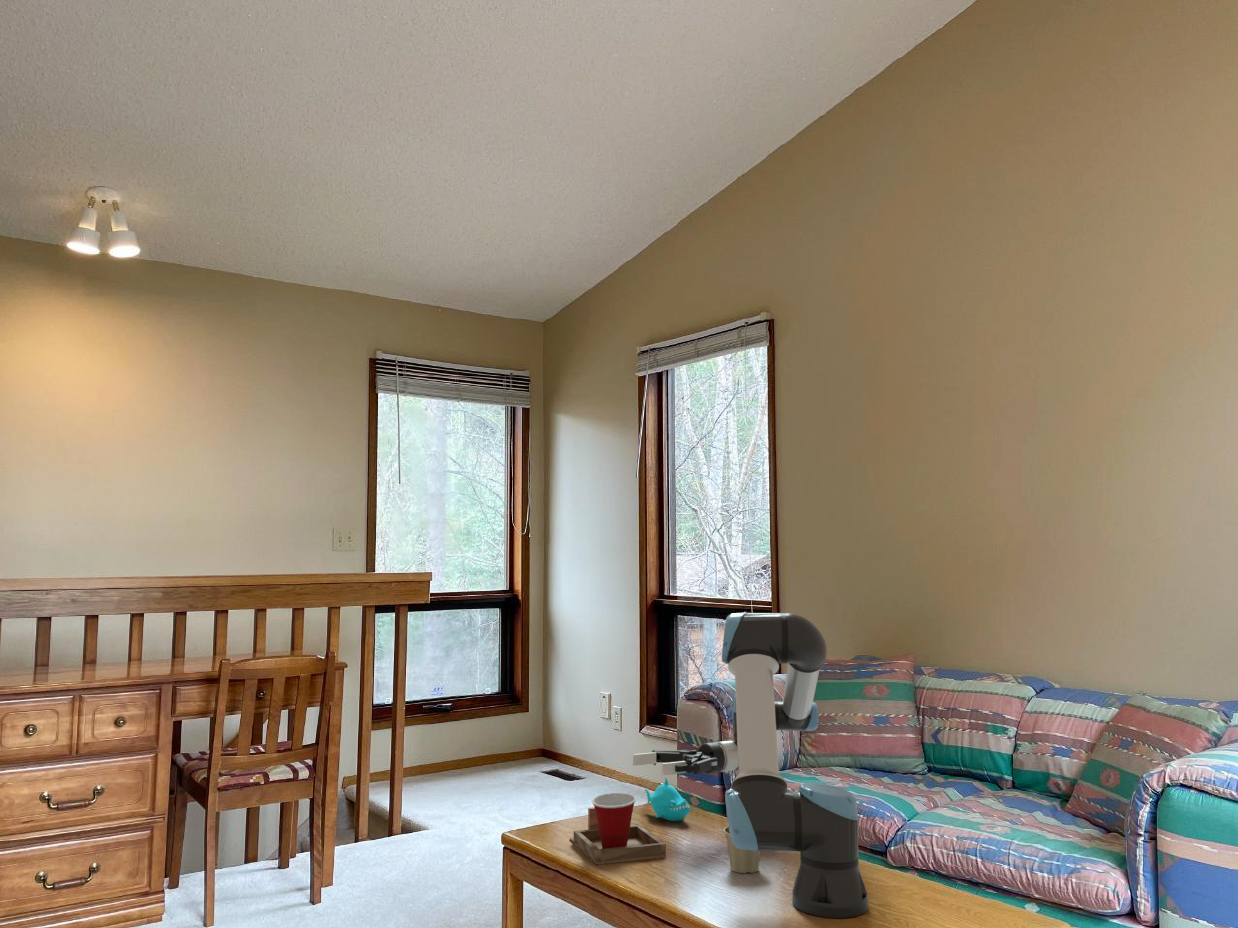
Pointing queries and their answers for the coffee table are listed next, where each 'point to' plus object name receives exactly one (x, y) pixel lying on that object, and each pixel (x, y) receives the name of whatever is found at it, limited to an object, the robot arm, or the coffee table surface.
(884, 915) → the coffee table surface
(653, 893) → the coffee table surface
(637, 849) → the cup dock
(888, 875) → the coffee table surface
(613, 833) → the plastic cup
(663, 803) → the toy shark
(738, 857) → the flower pot
